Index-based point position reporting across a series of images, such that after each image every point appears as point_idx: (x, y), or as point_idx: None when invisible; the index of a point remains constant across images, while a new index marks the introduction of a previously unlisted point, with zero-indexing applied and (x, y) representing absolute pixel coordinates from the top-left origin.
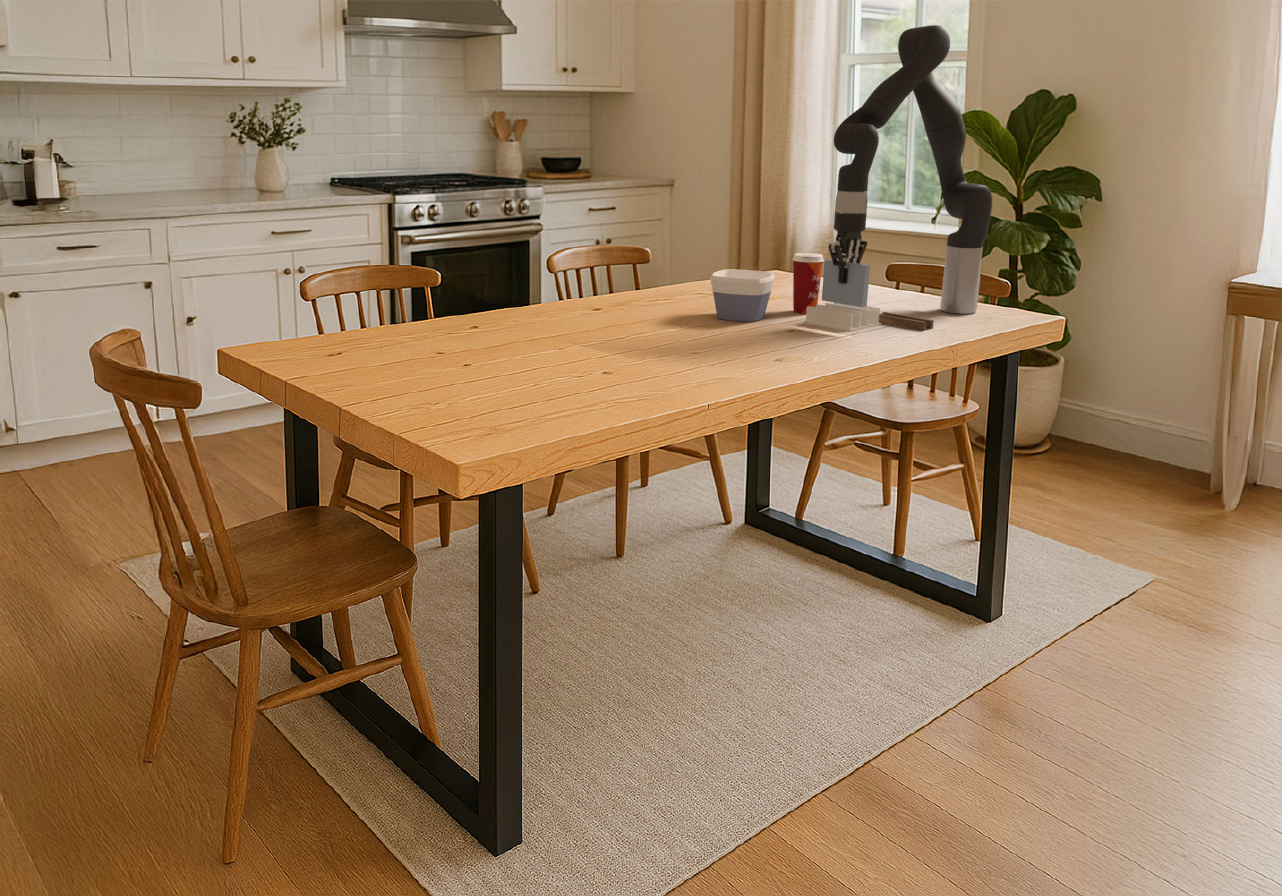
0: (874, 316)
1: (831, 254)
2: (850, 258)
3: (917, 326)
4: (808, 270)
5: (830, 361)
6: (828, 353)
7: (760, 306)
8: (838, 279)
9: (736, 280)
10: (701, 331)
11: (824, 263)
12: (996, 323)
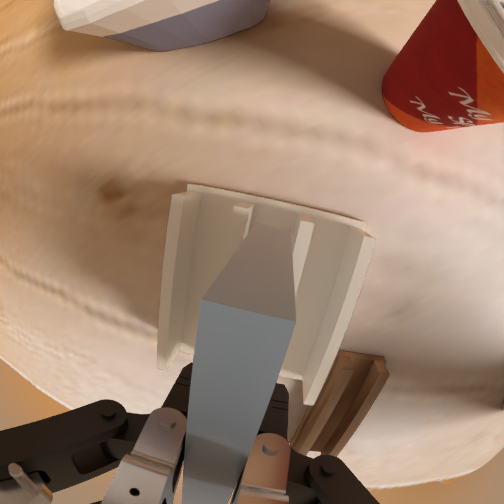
0: (306, 379)
1: (24, 431)
2: (316, 483)
3: (296, 446)
4: (459, 55)
5: (18, 348)
6: (36, 337)
7: (151, 40)
8: (183, 368)
9: None
10: (33, 67)
11: (214, 284)
12: (441, 460)
